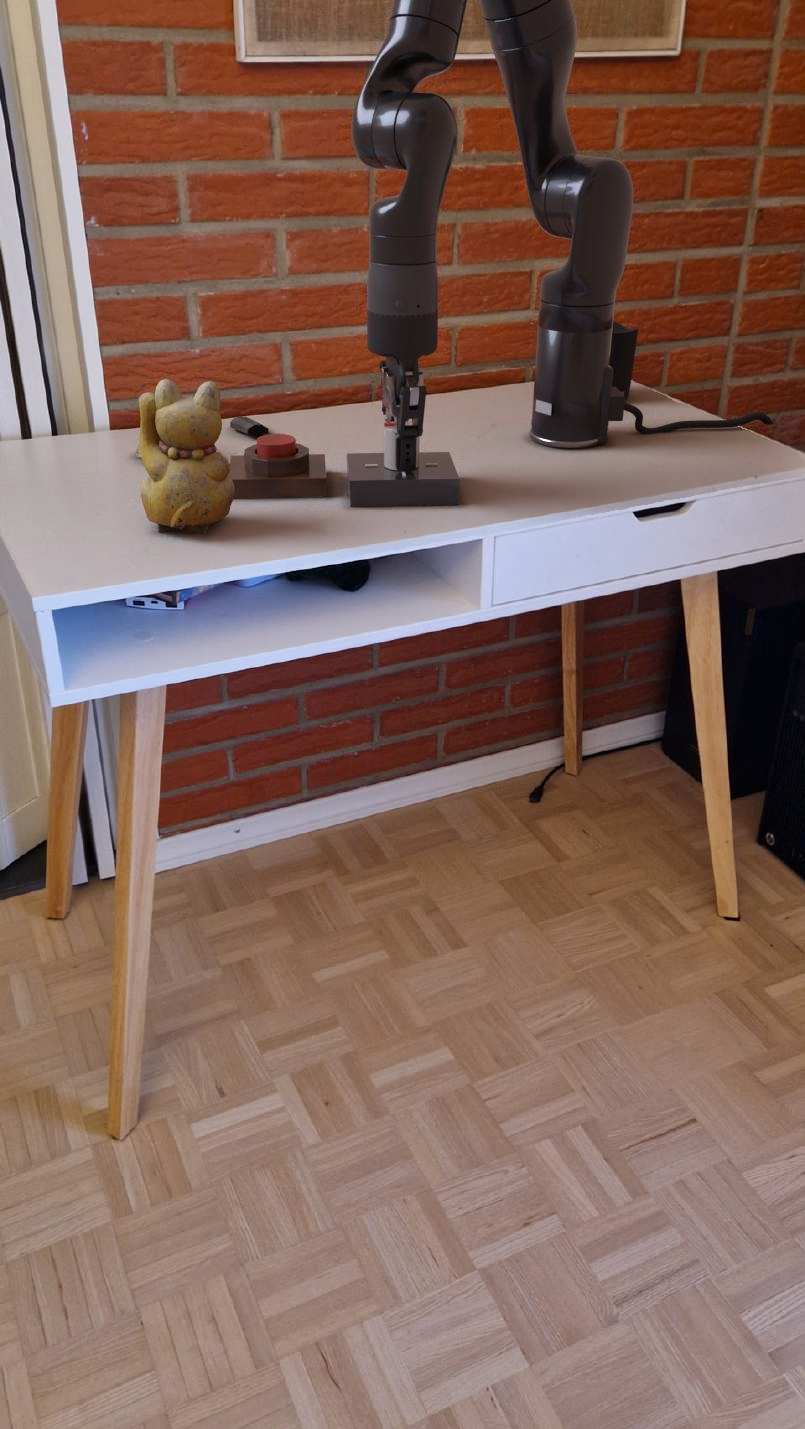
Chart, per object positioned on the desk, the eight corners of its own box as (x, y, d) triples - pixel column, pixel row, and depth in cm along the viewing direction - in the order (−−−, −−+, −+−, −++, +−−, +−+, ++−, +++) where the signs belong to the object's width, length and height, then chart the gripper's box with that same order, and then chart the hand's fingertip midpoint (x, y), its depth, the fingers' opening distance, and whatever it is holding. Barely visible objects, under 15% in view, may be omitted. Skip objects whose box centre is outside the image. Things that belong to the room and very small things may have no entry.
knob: (418, 459, 135) (418, 418, 132) (420, 470, 131) (420, 428, 129) (383, 459, 135) (383, 418, 132) (384, 470, 131) (384, 428, 129)
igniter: (325, 472, 140) (324, 439, 138) (326, 497, 132) (326, 462, 130) (231, 473, 139) (229, 440, 138) (228, 498, 132) (225, 463, 130)
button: (296, 448, 136) (295, 433, 135) (296, 460, 132) (295, 444, 132) (257, 449, 136) (257, 434, 135) (256, 460, 132) (255, 445, 131)
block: (247, 440, 151) (246, 426, 150) (227, 429, 156) (226, 415, 155) (272, 436, 153) (272, 422, 152) (252, 425, 157) (251, 411, 157)
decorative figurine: (236, 513, 128) (228, 372, 120) (236, 540, 121) (227, 392, 113) (146, 515, 127) (131, 374, 119) (140, 543, 119) (124, 395, 112)
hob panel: (448, 476, 139) (449, 450, 138) (458, 505, 130) (459, 477, 129) (346, 478, 138) (346, 452, 137) (350, 507, 130) (349, 479, 128)
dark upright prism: (564, 403, 168) (570, 331, 164) (567, 387, 177) (572, 318, 172) (631, 407, 167) (638, 334, 162) (631, 390, 175) (638, 321, 170)
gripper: (453, 317, 119) (448, 482, 127) (423, 292, 131) (420, 444, 140) (379, 320, 118) (380, 486, 126) (356, 294, 130) (358, 447, 138)
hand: (401, 463), depth 133 cm, fingers closed on knob, 4 cm apart
